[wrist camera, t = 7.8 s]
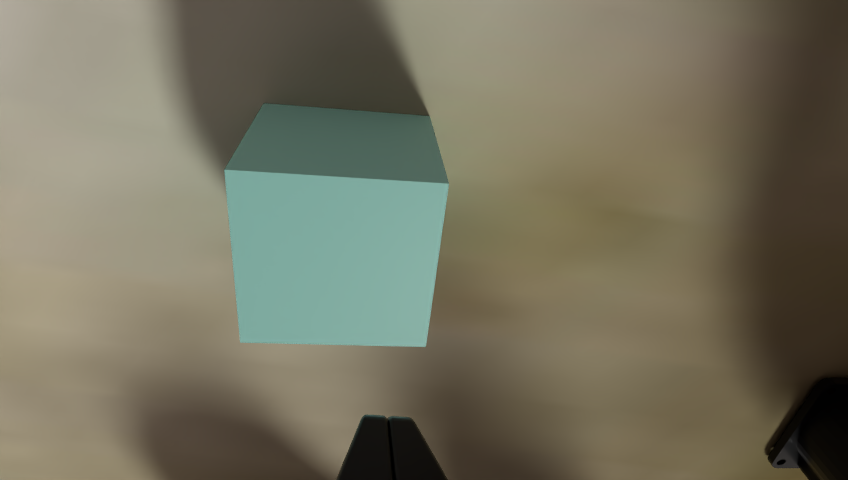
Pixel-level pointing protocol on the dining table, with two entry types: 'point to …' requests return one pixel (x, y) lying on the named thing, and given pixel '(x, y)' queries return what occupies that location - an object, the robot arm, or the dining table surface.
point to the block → (335, 226)
